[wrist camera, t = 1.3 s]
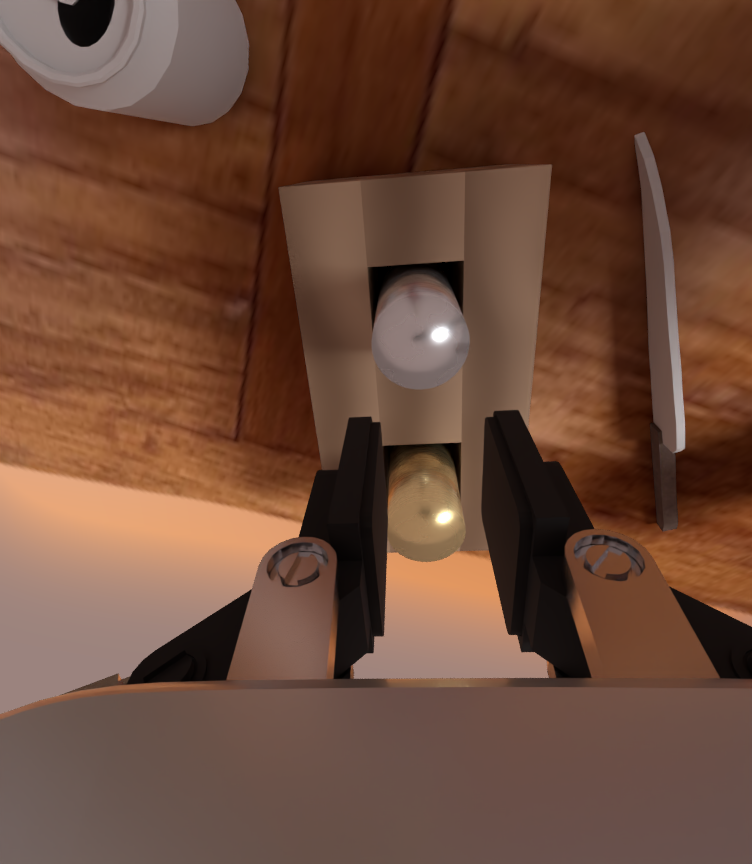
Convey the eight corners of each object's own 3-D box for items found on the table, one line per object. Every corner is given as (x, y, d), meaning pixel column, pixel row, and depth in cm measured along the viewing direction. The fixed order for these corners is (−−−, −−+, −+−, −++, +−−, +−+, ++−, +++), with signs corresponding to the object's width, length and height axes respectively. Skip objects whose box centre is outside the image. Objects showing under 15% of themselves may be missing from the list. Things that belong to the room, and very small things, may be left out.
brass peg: (450, 418, 31) (466, 499, 23) (450, 470, 33) (465, 560, 25) (388, 421, 31) (384, 502, 24) (391, 472, 33) (389, 562, 26)
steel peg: (450, 255, 26) (470, 292, 18) (450, 327, 28) (468, 387, 20) (377, 260, 26) (367, 298, 19) (382, 331, 28) (375, 391, 21)
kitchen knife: (690, 546, 38) (685, 119, 24) (676, 549, 38) (662, 127, 24) (664, 512, 42) (646, 123, 27) (651, 514, 42) (626, 130, 28)
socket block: (510, 164, 28) (552, 164, 21) (493, 472, 39) (517, 549, 31) (311, 180, 29) (278, 187, 22) (348, 477, 40) (335, 553, 32)
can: (216, 156, 29) (112, 153, 19) (97, 66, 27) (-93, 5, 17) (278, 27, 26) (195, -65, 15) (149, -86, 24) (-45, -278, 13)
